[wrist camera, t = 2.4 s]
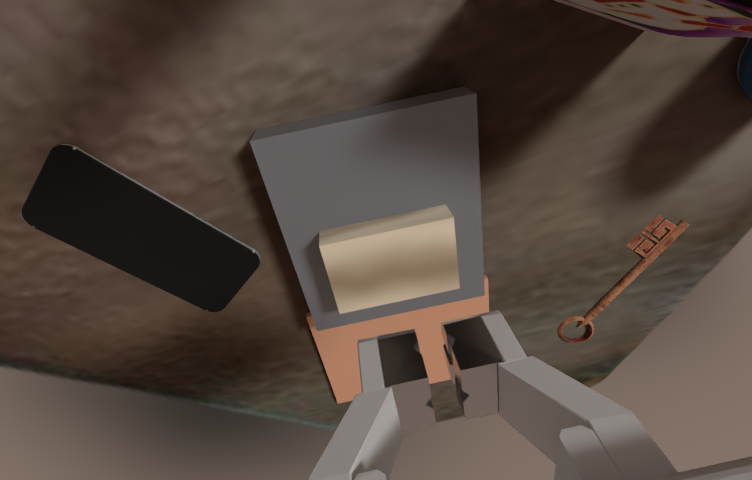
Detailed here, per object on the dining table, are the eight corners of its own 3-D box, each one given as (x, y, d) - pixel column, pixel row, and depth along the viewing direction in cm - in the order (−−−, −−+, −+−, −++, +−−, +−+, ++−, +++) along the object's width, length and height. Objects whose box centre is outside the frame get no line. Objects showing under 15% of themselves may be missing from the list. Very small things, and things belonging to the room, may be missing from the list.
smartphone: (56, 137, 24) (265, 258, 30) (63, 134, 25) (267, 253, 31) (16, 219, 27) (217, 316, 33) (22, 215, 27) (219, 311, 33)
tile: (319, 231, 27) (318, 246, 25) (445, 204, 27) (453, 217, 25) (338, 296, 30) (339, 314, 28) (452, 272, 30) (459, 288, 28)
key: (651, 200, 33) (534, 323, 39) (658, 204, 32) (538, 329, 38) (695, 229, 34) (577, 343, 40) (704, 234, 33) (581, 350, 39)
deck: (255, 130, 25) (249, 141, 23) (463, 86, 26) (476, 93, 23) (317, 310, 34) (317, 331, 32) (474, 277, 34) (484, 295, 32)
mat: (306, 313, 34) (306, 317, 33) (485, 275, 34) (487, 278, 33) (337, 399, 40) (337, 403, 40) (489, 366, 40) (491, 370, 40)
